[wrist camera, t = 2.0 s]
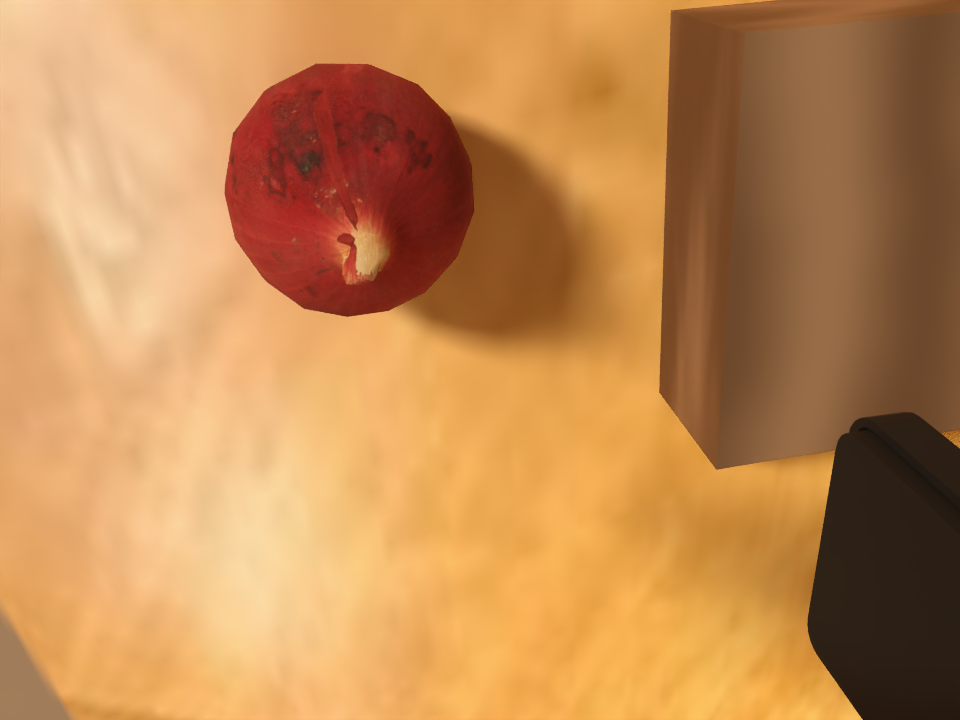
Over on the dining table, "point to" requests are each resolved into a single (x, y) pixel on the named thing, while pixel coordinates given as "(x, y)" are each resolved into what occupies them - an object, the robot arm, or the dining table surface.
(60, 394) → the dining table surface
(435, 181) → the onion
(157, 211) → the dining table surface
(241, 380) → the dining table surface
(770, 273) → the walnut block
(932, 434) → the robot arm
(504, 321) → the dining table surface
